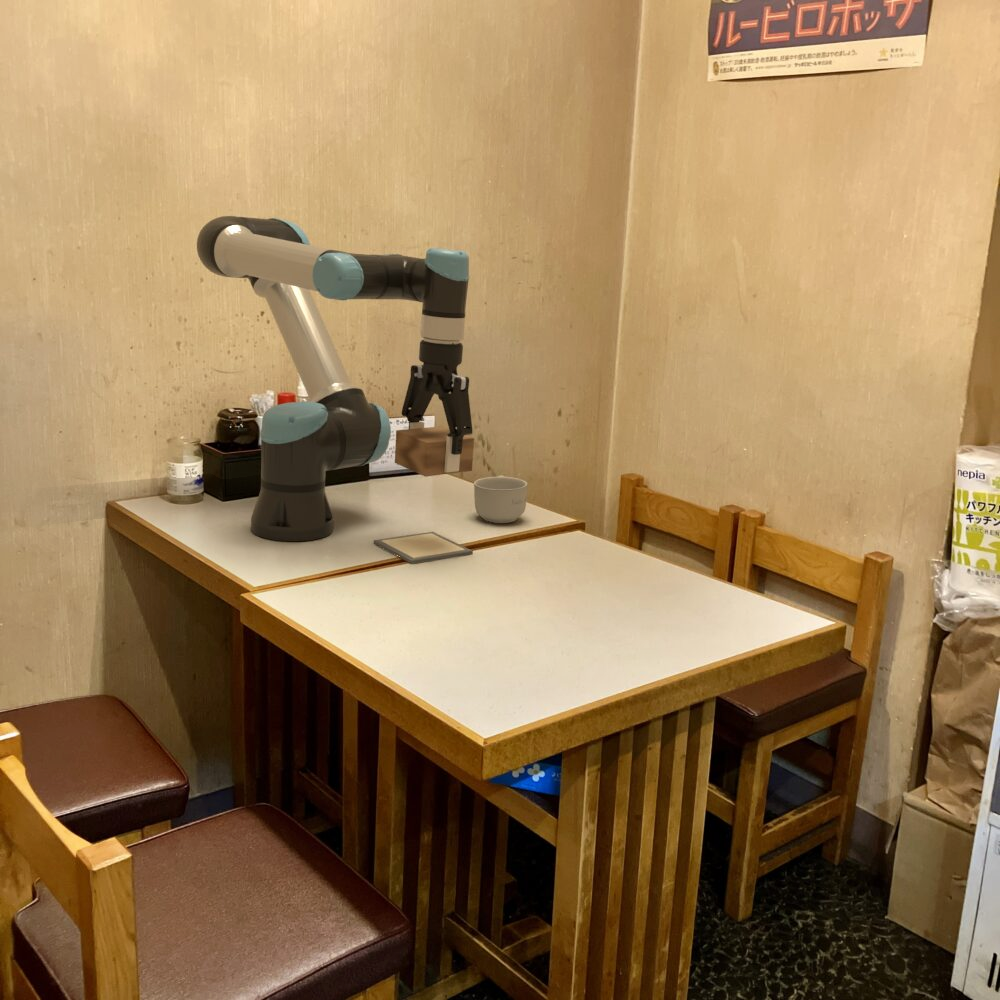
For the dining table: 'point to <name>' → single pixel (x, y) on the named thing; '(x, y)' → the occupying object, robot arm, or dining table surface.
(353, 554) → the dining table surface
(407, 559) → the mat
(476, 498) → the teacup
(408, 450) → the brown wooden block
